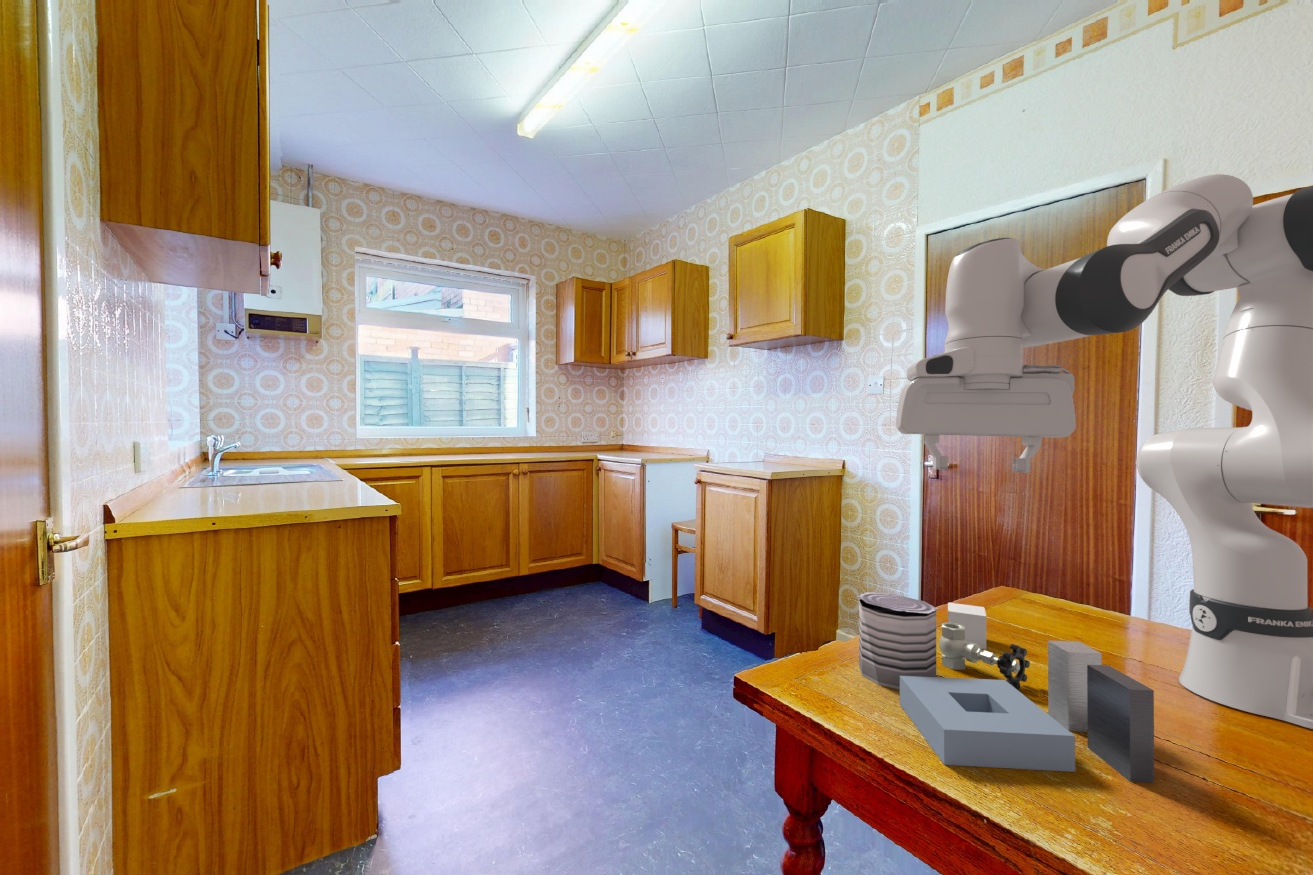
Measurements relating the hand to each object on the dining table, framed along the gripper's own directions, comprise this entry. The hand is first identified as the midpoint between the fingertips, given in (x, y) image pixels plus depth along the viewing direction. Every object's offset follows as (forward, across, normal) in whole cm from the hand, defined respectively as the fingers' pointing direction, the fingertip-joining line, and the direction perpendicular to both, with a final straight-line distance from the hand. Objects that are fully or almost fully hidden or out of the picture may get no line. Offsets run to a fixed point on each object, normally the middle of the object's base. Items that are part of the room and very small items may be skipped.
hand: (979, 470), depth 70 cm
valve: (+33, -6, -17) cm, 38 cm away
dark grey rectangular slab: (+33, -13, +5) cm, 36 cm away
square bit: (+33, -13, -4) cm, 35 cm away
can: (+33, +7, -14) cm, 37 cm away
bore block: (+33, 0, +2) cm, 33 cm away
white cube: (+33, -8, -33) cm, 47 cm away
